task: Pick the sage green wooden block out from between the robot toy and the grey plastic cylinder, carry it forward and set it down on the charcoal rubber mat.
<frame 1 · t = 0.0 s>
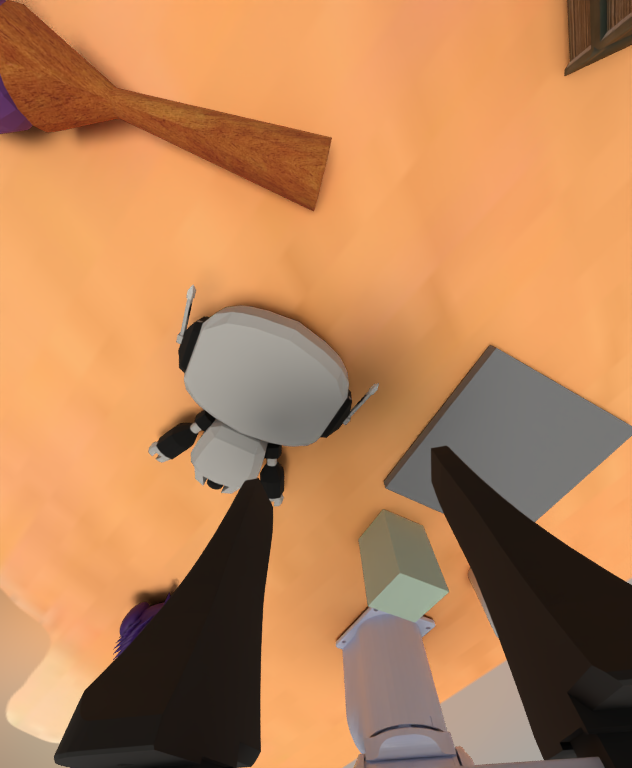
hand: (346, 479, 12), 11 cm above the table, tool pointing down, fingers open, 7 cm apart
mat: (499, 454, 24), on the table
kendama: (153, 129, 16), on the table
block: (390, 532, 28), on the table
grey cylinder: (487, 572, 30), on the table
creature: (176, 623, 34), on the table
robot toy: (257, 399, 23), on the table
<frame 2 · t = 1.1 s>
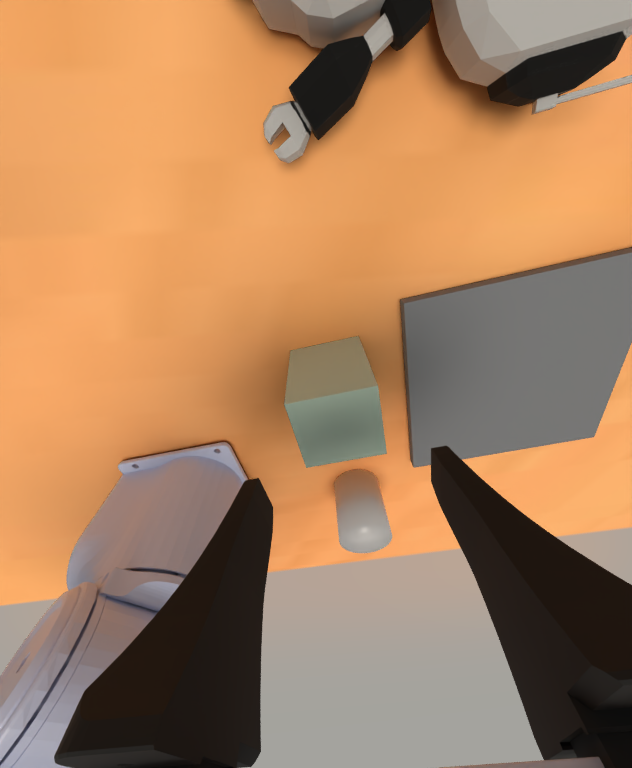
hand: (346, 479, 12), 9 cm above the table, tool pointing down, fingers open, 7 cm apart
mat: (506, 374, 20), on the table
block: (330, 372, 20), on the table
grey cylinder: (356, 484, 26), on the table
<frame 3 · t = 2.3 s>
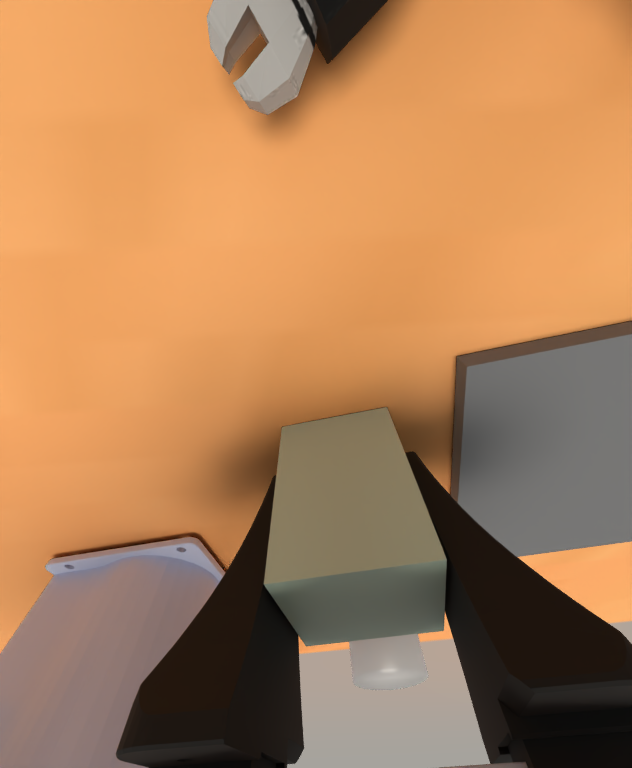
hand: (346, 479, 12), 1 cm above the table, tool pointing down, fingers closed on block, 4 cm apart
mat: (601, 454, 14), on the table
block: (342, 454, 13), on the table, touching gripper
grey cylinder: (372, 576, 20), on the table
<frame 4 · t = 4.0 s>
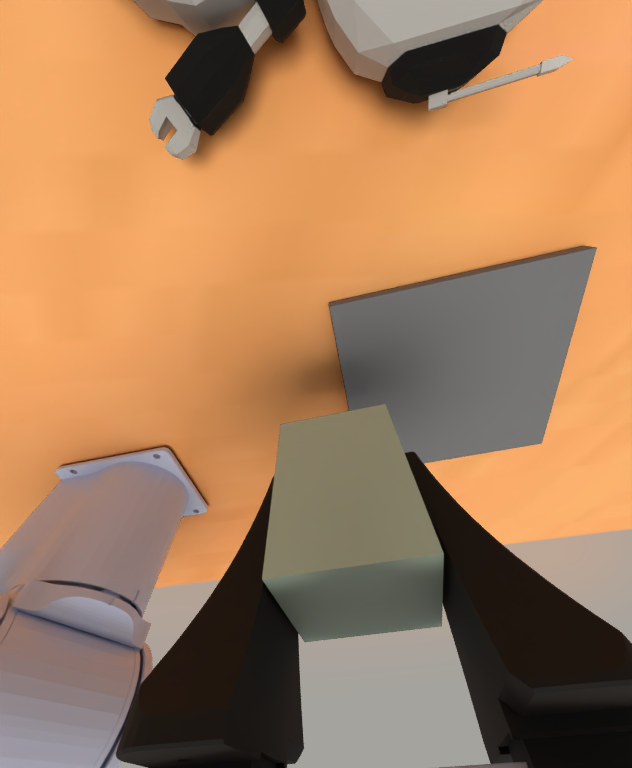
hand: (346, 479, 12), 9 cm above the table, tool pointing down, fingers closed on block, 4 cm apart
mat: (447, 379, 20), on the table
block: (341, 451, 13), point 7 cm above the table, touching gripper
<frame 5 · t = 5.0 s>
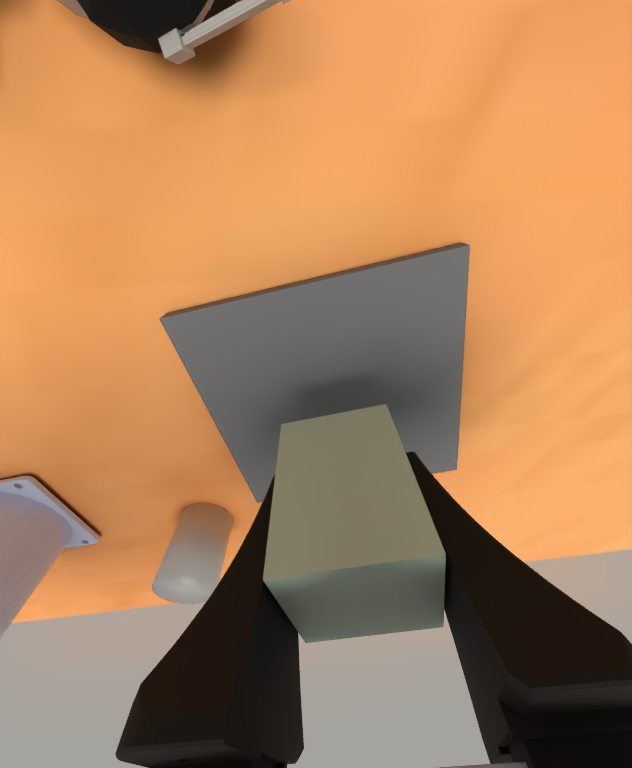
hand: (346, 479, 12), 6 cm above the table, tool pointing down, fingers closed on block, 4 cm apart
mat: (334, 400, 17), on the table
block: (342, 451, 13), point 4 cm above the table, touching gripper
grey cylinder: (207, 518, 23), on the table
when the fingers open (4 cm above the table, at t = 5.8 s): block drops 1 cm, resting on mat.
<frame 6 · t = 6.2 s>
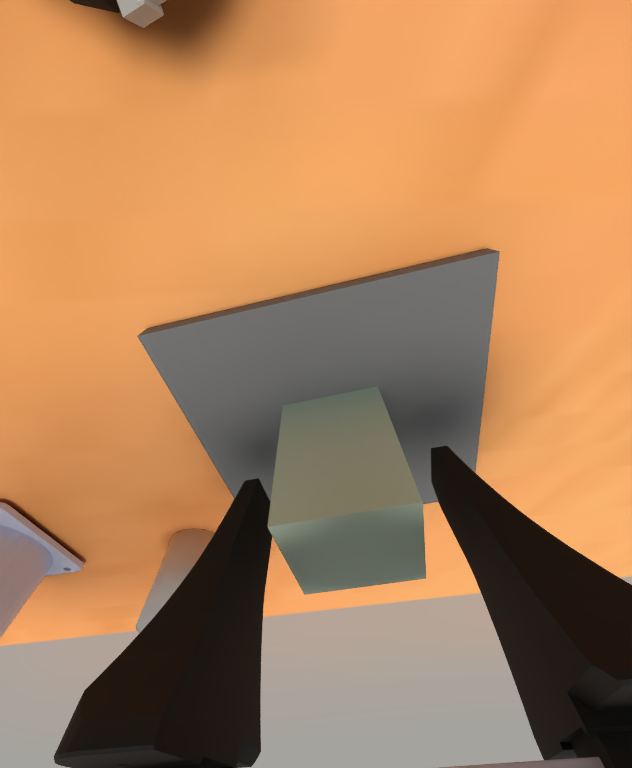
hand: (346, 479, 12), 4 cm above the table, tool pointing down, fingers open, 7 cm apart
mat: (338, 422, 15), on the table
block: (338, 431, 14), point 1 cm above the table, touching mat
grey cylinder: (199, 544, 21), on the table
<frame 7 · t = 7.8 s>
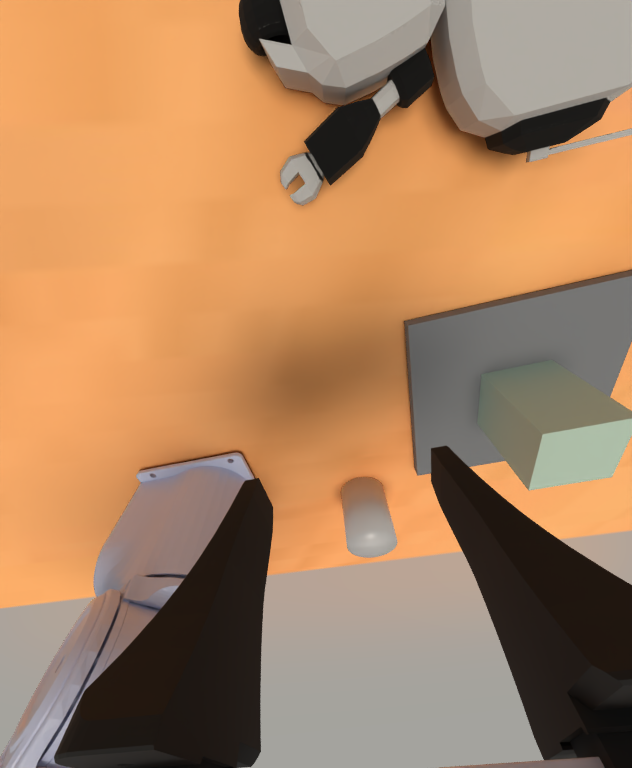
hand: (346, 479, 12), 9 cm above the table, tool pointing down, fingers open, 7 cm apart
mat: (506, 388, 21), on the table
block: (511, 393, 20), point 1 cm above the table, touching mat
grey cylinder: (362, 491, 27), on the table
robot toy: (431, 1, 11), on the table
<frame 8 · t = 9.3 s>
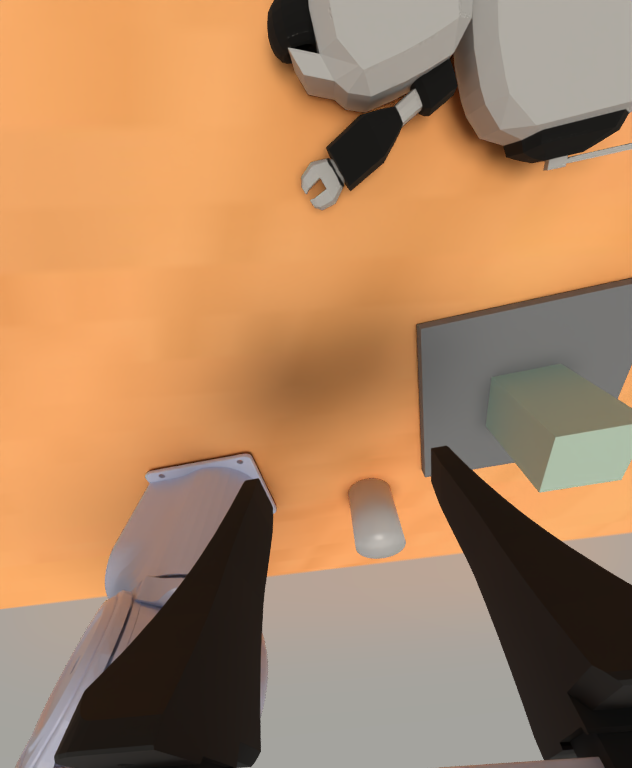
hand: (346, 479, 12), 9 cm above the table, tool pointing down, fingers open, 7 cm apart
mat: (514, 391, 21), on the table
block: (520, 396, 21), point 1 cm above the table, touching mat
grey cylinder: (369, 492, 27), on the table
robot toy: (452, 12, 12), on the table
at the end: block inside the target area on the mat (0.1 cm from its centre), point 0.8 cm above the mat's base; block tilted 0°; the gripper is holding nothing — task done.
